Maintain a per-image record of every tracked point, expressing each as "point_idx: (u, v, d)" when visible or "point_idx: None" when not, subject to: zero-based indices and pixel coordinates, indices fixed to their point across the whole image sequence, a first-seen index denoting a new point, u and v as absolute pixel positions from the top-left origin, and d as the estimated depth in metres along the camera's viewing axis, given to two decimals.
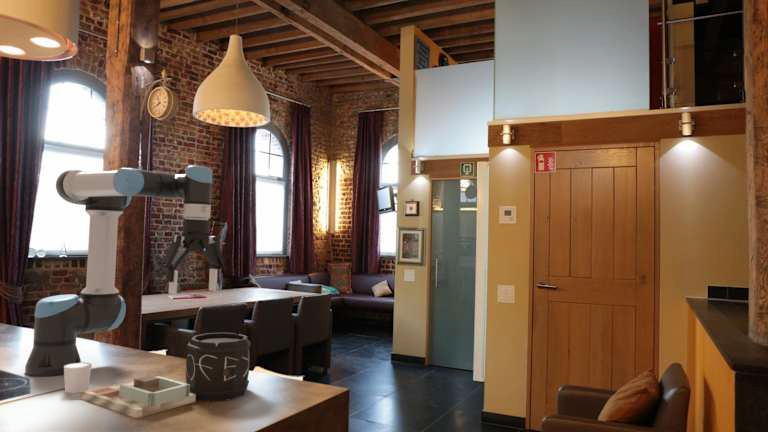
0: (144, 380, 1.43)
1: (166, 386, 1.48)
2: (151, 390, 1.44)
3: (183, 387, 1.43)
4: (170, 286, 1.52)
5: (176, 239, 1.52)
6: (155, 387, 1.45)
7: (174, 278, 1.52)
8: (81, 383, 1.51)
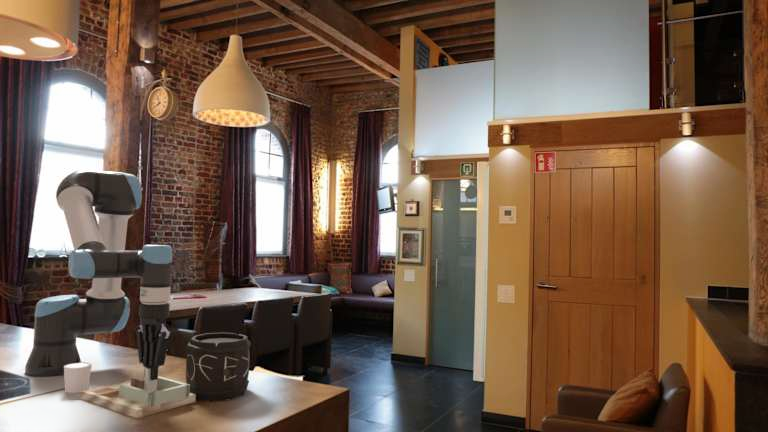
0: (141, 379, 1.44)
1: (166, 386, 1.48)
2: None
3: (183, 387, 1.43)
4: None
5: None
6: None
7: None
8: (81, 383, 1.51)
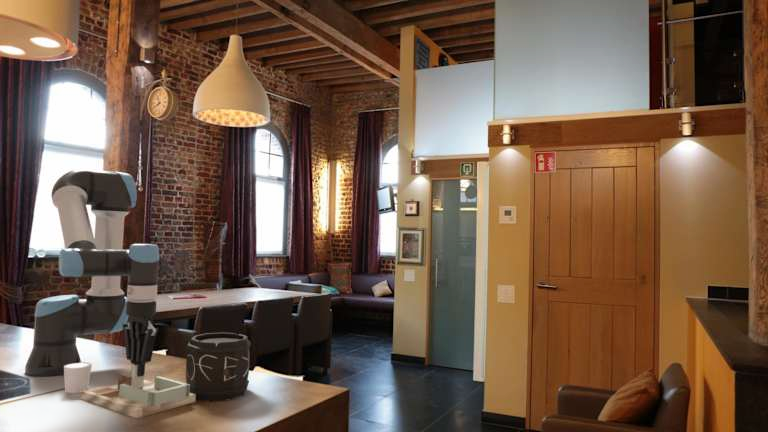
0: (128, 375, 1.47)
1: (166, 386, 1.48)
2: None
3: (183, 387, 1.43)
4: None
5: None
6: None
7: None
8: (81, 383, 1.51)
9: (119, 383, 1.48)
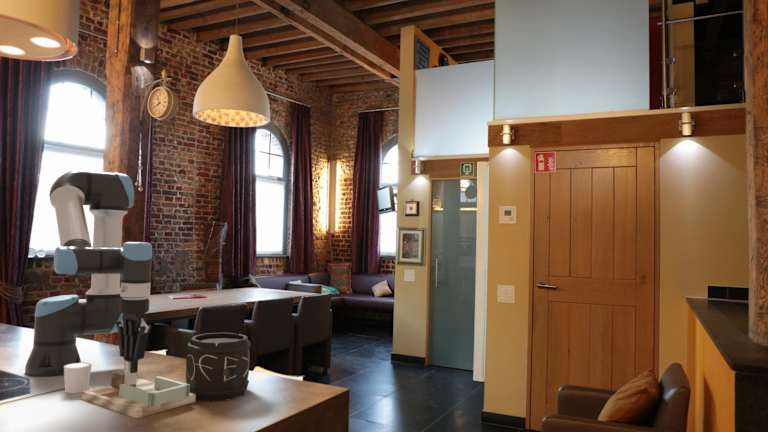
0: (121, 373, 1.49)
1: (166, 386, 1.48)
2: None
3: (183, 387, 1.43)
4: None
5: None
6: None
7: None
8: (81, 383, 1.51)
9: (112, 381, 1.50)
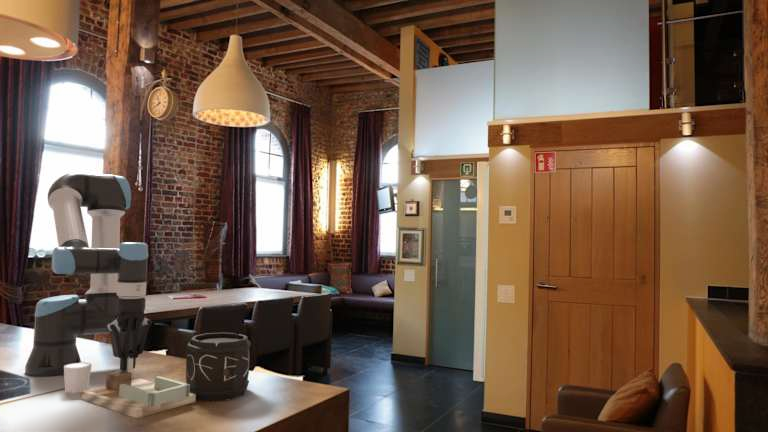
0: (116, 375, 1.48)
1: (166, 386, 1.48)
2: None
3: (183, 387, 1.43)
4: None
5: (111, 329, 1.48)
6: (128, 381, 1.49)
7: (127, 366, 1.51)
8: (81, 383, 1.51)
9: (107, 382, 1.48)
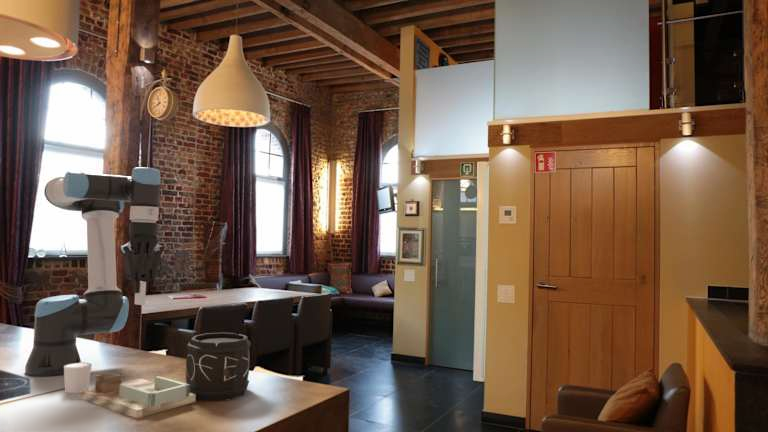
0: (105, 377, 1.45)
1: (166, 386, 1.48)
2: (113, 387, 1.46)
3: (183, 387, 1.43)
4: (135, 297, 1.55)
5: (124, 251, 1.50)
6: (117, 384, 1.47)
7: (140, 289, 1.54)
8: (81, 383, 1.51)
9: (96, 385, 1.46)
